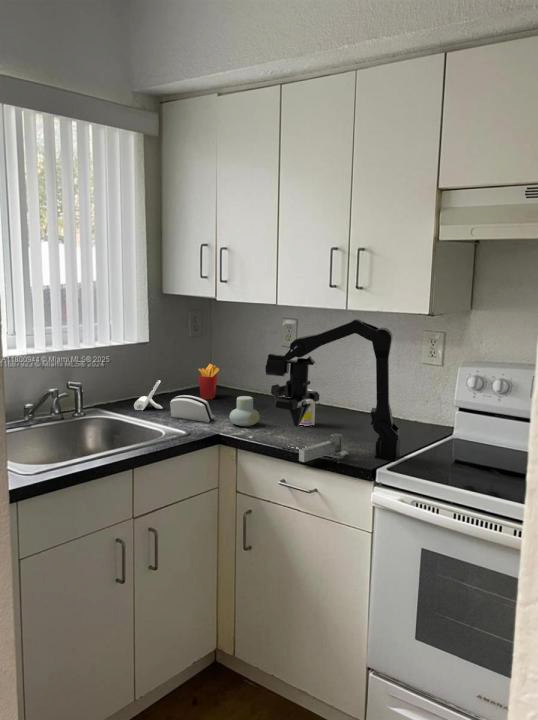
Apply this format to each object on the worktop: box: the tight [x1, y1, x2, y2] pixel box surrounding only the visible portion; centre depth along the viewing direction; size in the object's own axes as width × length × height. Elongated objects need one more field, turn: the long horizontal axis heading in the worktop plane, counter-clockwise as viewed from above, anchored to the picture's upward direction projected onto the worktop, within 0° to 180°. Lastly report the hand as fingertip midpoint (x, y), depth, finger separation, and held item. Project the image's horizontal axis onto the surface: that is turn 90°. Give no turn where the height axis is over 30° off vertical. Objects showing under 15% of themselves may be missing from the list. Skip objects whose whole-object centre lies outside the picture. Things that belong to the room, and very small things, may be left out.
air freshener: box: [229, 395, 260, 427], centre depth 240 cm, size 11×8×10 cm
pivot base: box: [326, 450, 350, 459], centre depth 205 cm, size 6×6×1 cm
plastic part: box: [133, 379, 163, 411], centre depth 261 cm, size 8×10×12 cm
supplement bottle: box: [299, 388, 316, 426], centre depth 241 cm, size 7×7×13 cm
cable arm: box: [298, 433, 343, 463], centre depth 200 cm, size 18×4×5 cm, turn 136°
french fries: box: [197, 363, 220, 401], centre depth 283 cm, size 9×8×15 cm
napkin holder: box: [169, 394, 215, 423], centre depth 247 cm, size 17×5×10 cm, turn 62°
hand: (296, 426), depth 210 cm, fingers closed
